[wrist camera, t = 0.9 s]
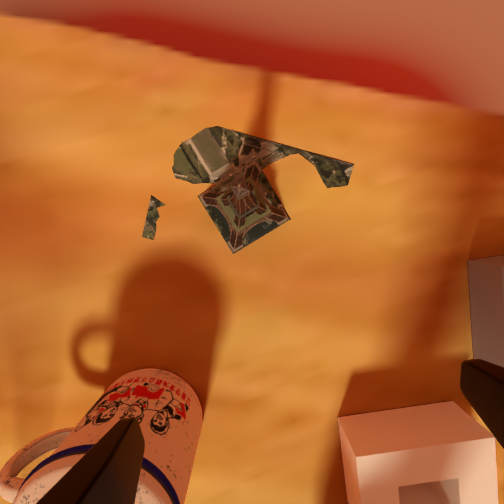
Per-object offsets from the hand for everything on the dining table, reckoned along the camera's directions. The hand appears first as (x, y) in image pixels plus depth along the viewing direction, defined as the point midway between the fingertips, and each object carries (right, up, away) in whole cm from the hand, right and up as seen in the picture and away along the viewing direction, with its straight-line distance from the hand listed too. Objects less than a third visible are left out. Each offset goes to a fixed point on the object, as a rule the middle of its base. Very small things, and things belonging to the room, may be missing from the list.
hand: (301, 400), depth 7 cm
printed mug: (-11, -10, +16) cm, 22 cm away
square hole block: (+12, -14, +16) cm, 25 cm away
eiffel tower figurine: (-2, +8, +15) cm, 17 cm away
